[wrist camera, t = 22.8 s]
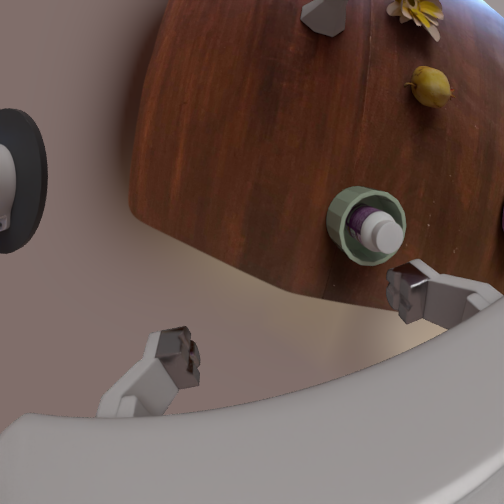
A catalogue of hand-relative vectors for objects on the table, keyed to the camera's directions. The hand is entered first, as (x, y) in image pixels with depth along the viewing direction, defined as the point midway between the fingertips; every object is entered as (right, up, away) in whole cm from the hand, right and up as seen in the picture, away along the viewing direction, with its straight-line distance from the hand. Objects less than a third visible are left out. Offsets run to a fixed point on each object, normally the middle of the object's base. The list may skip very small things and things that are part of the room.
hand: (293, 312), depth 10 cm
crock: (+14, +7, +29) cm, 34 cm away
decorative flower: (+26, +45, +18) cm, 55 cm away
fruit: (+26, +29, +23) cm, 45 cm away
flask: (+9, +38, +19) cm, 43 cm away
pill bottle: (+14, +7, +29) cm, 33 cm away
